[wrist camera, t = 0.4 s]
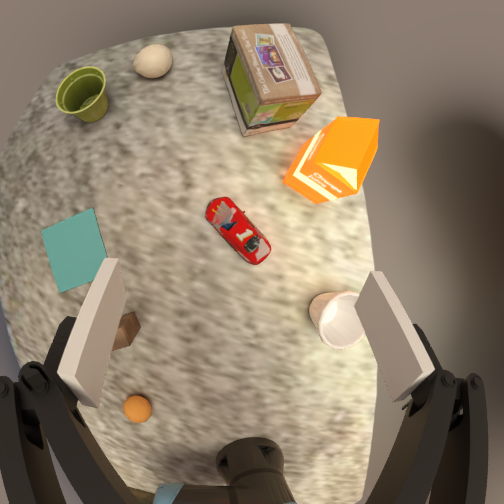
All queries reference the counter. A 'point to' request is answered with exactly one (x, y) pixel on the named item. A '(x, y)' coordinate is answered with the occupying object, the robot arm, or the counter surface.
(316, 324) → the cup
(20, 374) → the robot arm
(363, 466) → the counter surface
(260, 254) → the race car
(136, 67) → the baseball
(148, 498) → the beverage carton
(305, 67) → the tea box
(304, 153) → the orange juice
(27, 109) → the counter surface
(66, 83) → the plant pot
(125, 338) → the bridge
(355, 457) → the counter surface
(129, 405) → the ball
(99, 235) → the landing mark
